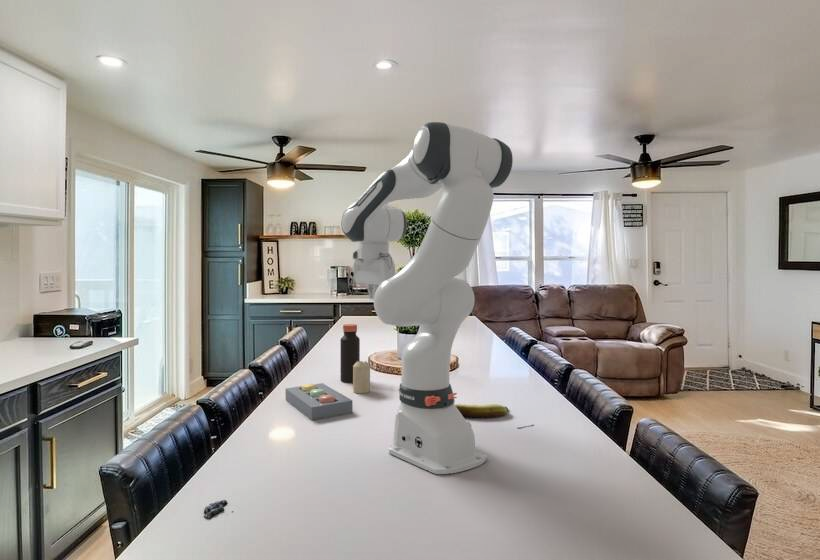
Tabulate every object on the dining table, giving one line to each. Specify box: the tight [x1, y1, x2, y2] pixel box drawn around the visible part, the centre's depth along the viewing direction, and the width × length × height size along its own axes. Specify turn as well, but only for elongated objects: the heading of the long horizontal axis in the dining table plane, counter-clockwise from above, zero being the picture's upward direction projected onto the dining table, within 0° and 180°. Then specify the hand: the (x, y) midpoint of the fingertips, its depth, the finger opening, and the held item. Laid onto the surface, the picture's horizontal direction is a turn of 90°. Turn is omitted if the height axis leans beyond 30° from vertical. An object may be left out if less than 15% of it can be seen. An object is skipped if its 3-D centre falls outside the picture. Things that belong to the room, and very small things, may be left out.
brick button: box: [319, 395, 334, 404], centre depth 130 cm, size 4×4×3 cm
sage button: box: [310, 389, 325, 398], centre depth 136 cm, size 4×4×3 cm
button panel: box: [285, 382, 353, 421], centre depth 136 cm, size 22×12×4 cm, turn 33°
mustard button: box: [301, 383, 316, 392], centre depth 142 cm, size 4×4×3 cm
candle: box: [352, 360, 371, 394], centre depth 151 cm, size 6×6×10 cm
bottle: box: [340, 323, 361, 383], centre depth 165 cm, size 7×7×20 cm
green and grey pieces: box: [455, 403, 533, 430], centre depth 129 cm, size 35×27×4 cm
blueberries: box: [203, 499, 234, 520], centre depth 78 cm, size 7×8×2 cm
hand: (373, 299), depth 139 cm, fingers closed
